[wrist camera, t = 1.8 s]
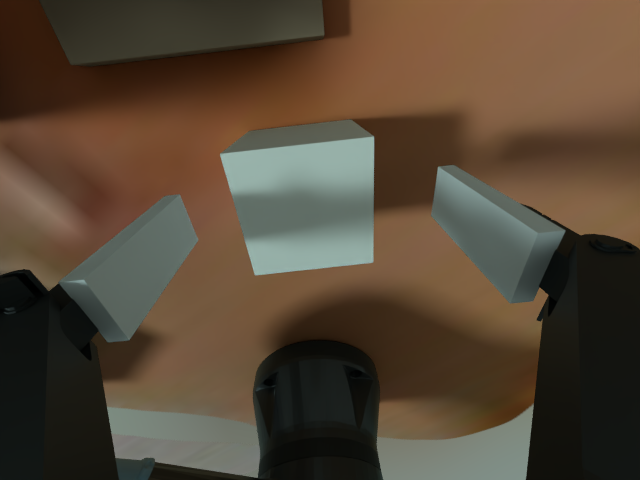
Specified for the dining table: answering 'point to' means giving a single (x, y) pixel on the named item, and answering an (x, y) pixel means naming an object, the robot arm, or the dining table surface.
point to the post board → (176, 27)
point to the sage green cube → (304, 195)
